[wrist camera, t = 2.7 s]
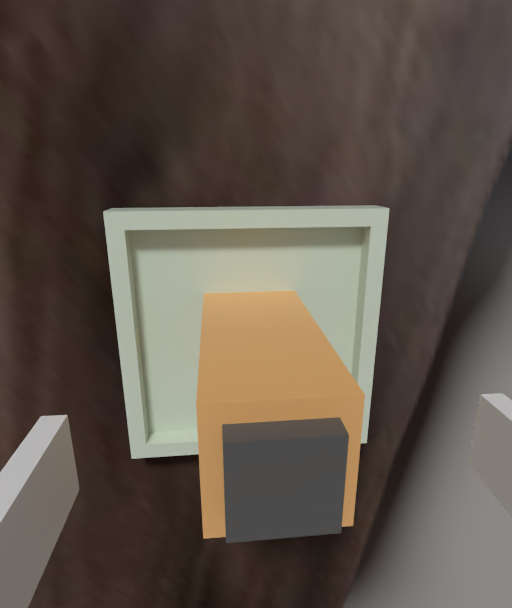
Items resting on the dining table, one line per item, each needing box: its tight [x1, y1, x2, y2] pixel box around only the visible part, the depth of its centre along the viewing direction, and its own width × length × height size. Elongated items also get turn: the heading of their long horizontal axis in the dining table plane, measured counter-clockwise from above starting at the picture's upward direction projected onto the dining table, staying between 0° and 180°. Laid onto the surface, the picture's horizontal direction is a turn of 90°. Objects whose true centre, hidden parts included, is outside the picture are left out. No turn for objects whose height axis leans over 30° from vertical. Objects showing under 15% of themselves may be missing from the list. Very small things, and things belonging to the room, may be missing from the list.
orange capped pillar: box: [196, 291, 365, 543], centre depth 16 cm, size 4×4×11 cm
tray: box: [103, 205, 389, 459], centre depth 21 cm, size 13×13×2 cm
